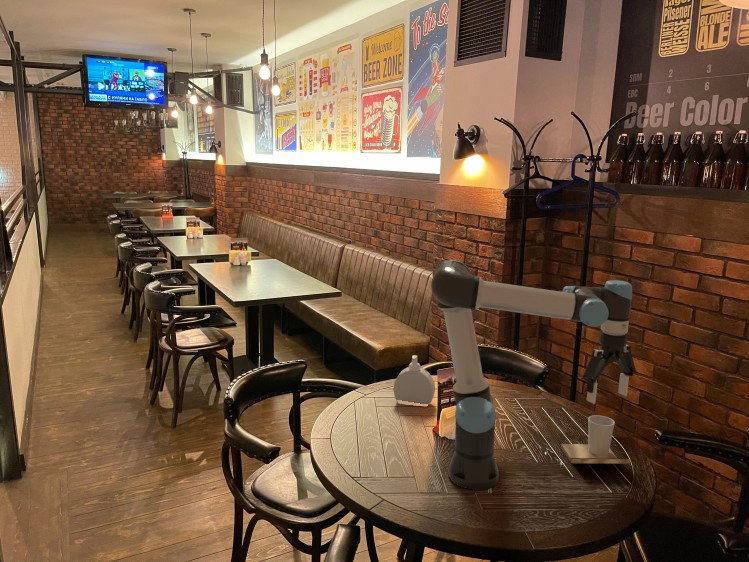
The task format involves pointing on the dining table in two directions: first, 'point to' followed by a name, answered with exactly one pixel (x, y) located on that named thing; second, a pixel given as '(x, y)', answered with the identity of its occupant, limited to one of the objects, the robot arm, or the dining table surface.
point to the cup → (599, 435)
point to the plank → (601, 461)
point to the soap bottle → (414, 384)
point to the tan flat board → (583, 452)
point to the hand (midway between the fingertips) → (606, 398)
